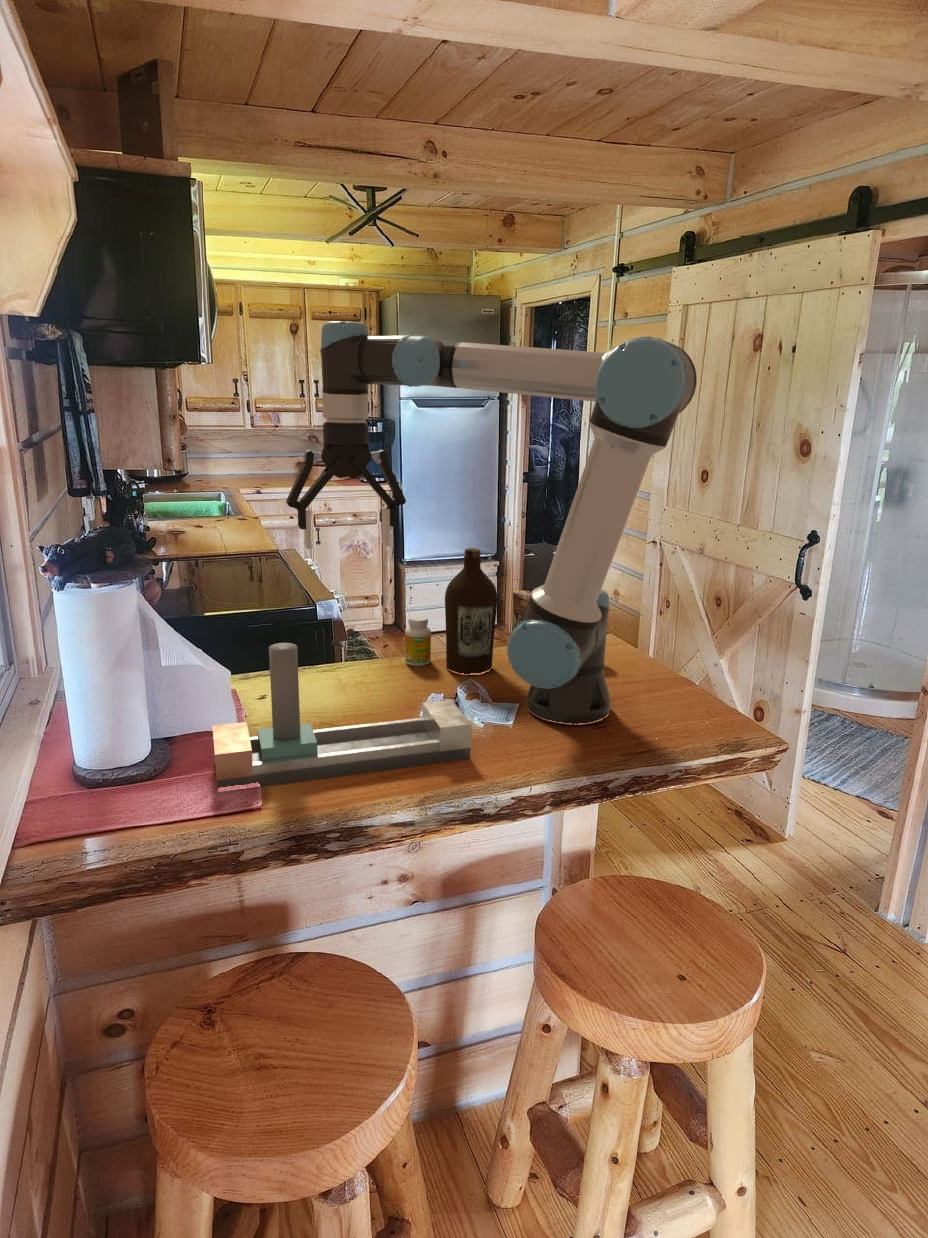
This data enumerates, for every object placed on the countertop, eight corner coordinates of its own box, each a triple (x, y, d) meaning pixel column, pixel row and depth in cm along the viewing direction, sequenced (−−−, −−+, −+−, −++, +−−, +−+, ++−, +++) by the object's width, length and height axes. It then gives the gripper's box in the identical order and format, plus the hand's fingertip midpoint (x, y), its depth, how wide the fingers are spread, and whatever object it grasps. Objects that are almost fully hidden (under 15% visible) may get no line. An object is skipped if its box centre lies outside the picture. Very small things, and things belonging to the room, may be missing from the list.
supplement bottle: (411, 668, 162) (411, 623, 160) (400, 659, 167) (401, 615, 164) (434, 664, 165) (435, 620, 162) (424, 656, 169) (424, 613, 167)
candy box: (508, 659, 169) (511, 590, 164) (526, 657, 170) (530, 589, 166) (528, 674, 161) (531, 601, 156) (546, 671, 162) (550, 600, 158)
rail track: (450, 732, 133) (451, 699, 131) (470, 759, 124) (471, 724, 122) (215, 761, 121) (212, 725, 119) (217, 793, 112) (214, 754, 110)
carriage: (310, 740, 123) (307, 637, 119) (317, 760, 117) (314, 652, 112) (258, 747, 121) (252, 641, 116) (262, 767, 115) (256, 657, 110)
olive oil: (438, 661, 167) (441, 544, 160) (487, 658, 169) (491, 543, 162) (449, 679, 157) (452, 555, 150) (500, 676, 159) (505, 554, 152)
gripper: (412, 420, 139) (411, 539, 145) (266, 418, 131) (272, 544, 137) (424, 422, 132) (422, 547, 138) (271, 421, 124) (277, 553, 130)
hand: (347, 546), depth 137 cm, fingers open, 13 cm apart
